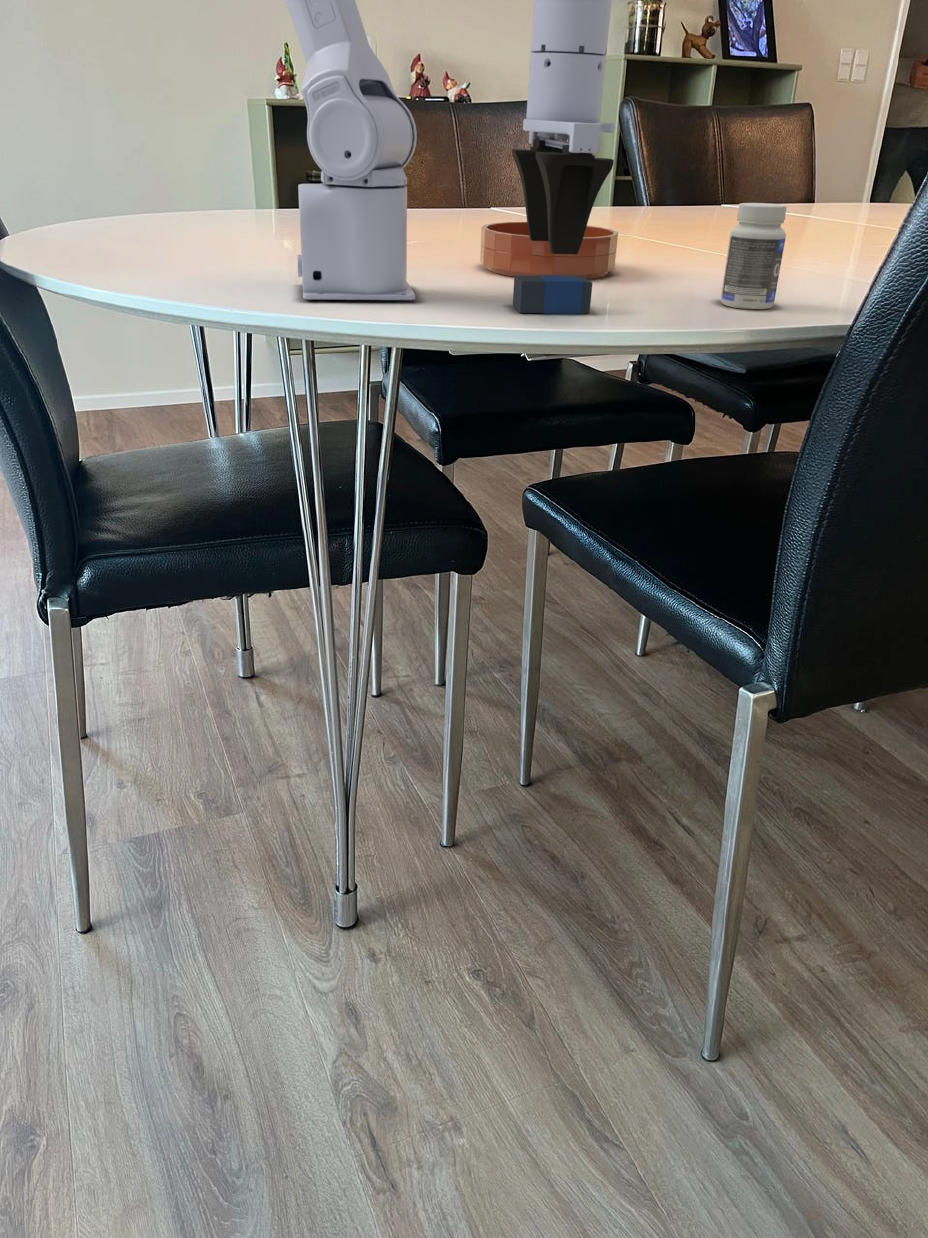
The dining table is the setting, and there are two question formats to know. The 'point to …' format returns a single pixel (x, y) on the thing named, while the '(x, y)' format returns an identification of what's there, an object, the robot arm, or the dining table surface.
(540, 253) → the bowl
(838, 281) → the dining table surface
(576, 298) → the eraser
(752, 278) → the pill bottle
